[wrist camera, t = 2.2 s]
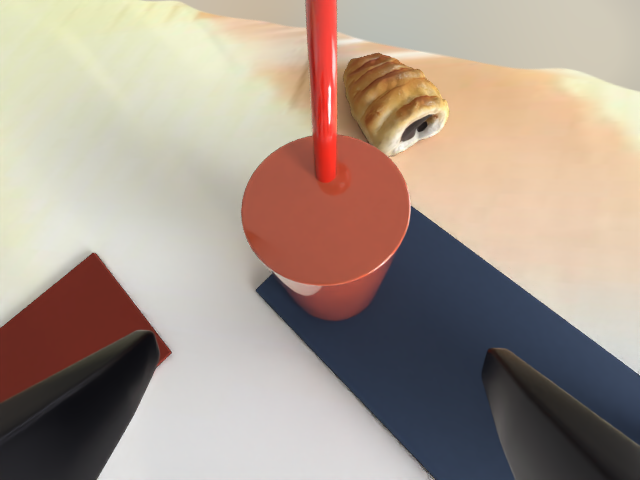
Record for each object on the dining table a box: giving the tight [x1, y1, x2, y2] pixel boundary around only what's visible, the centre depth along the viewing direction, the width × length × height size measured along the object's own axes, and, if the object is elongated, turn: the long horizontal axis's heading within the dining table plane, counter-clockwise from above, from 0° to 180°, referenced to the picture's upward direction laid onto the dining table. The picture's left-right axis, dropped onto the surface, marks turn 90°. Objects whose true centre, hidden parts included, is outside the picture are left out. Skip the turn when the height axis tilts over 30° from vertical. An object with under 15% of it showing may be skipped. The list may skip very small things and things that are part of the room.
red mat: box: [0, 253, 172, 403], centre depth 20 cm, size 10×10×1 cm
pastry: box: [343, 53, 449, 156], centre depth 24 cm, size 9×7×4 cm
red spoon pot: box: [241, 0, 411, 321], centre depth 13 cm, size 9×6×17 cm
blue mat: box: [256, 206, 640, 480], centre depth 18 cm, size 12×27×1 cm, turn 46°
